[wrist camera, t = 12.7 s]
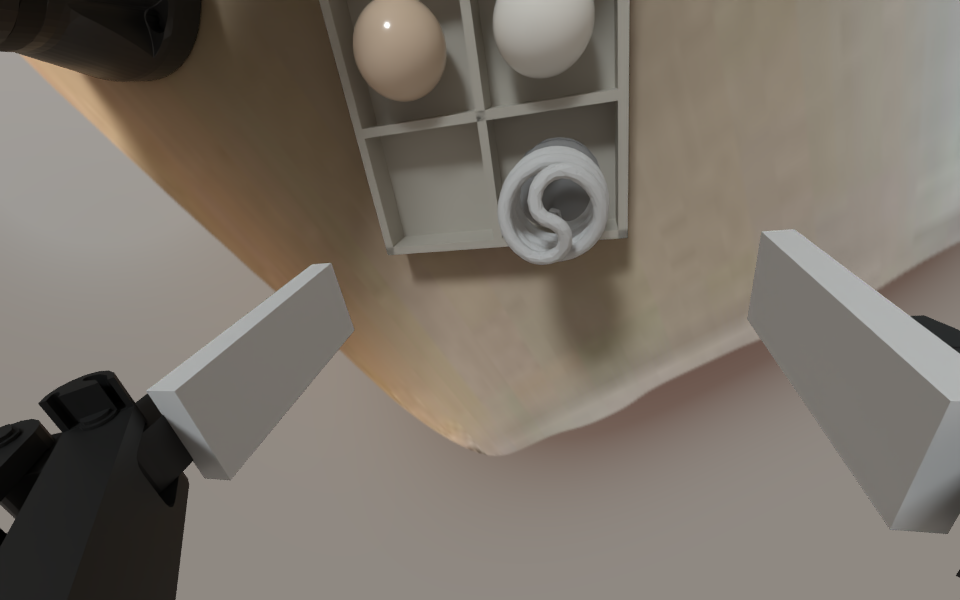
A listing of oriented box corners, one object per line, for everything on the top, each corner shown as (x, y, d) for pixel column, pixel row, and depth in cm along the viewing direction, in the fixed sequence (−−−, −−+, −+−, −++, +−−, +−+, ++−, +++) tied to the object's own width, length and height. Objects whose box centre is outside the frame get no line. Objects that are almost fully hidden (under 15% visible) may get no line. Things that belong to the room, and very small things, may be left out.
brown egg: (388, 104, 30) (351, 111, 25) (366, 11, 27) (321, -2, 22) (463, 91, 28) (440, 96, 24) (447, -9, 26) (418, -26, 21)
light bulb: (602, 204, 30) (614, 275, 20) (524, 212, 32) (498, 282, 21) (599, 120, 28) (611, 151, 17) (515, 133, 29) (480, 169, 19)
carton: (402, 241, 35) (387, 255, 33) (338, -15, 27) (312, -24, 25) (623, 223, 31) (627, 237, 28) (624, -89, 23) (630, -109, 20)
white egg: (506, 84, 28) (492, 87, 23) (495, -20, 25) (476, -40, 20) (594, 69, 26) (598, 70, 22) (591, -42, 24) (595, -70, 19)
